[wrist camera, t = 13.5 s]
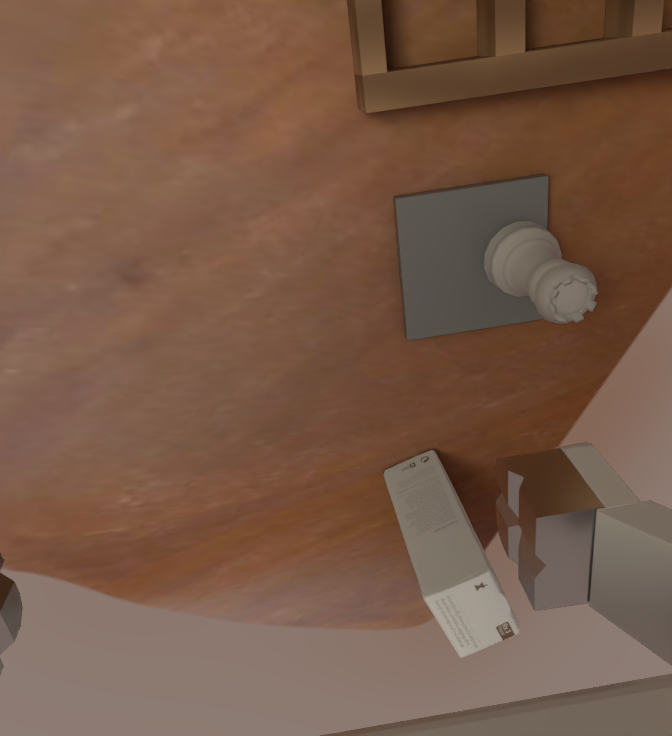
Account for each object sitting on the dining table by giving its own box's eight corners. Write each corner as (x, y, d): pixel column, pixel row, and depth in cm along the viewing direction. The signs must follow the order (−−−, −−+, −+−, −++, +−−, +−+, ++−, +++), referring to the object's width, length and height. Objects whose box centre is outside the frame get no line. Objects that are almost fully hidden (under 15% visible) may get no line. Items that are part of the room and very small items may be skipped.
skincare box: (379, 470, 46) (415, 599, 35) (436, 444, 45) (489, 566, 35) (412, 528, 49) (454, 664, 38) (466, 504, 48) (525, 635, 37)
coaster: (393, 196, 37) (395, 198, 37) (543, 173, 38) (548, 175, 37) (404, 335, 41) (407, 340, 41) (540, 314, 42) (545, 318, 41)
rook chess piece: (567, 241, 39) (635, 284, 32) (522, 302, 40) (578, 355, 33) (511, 204, 37) (568, 240, 30) (466, 268, 39) (512, 317, 32)
